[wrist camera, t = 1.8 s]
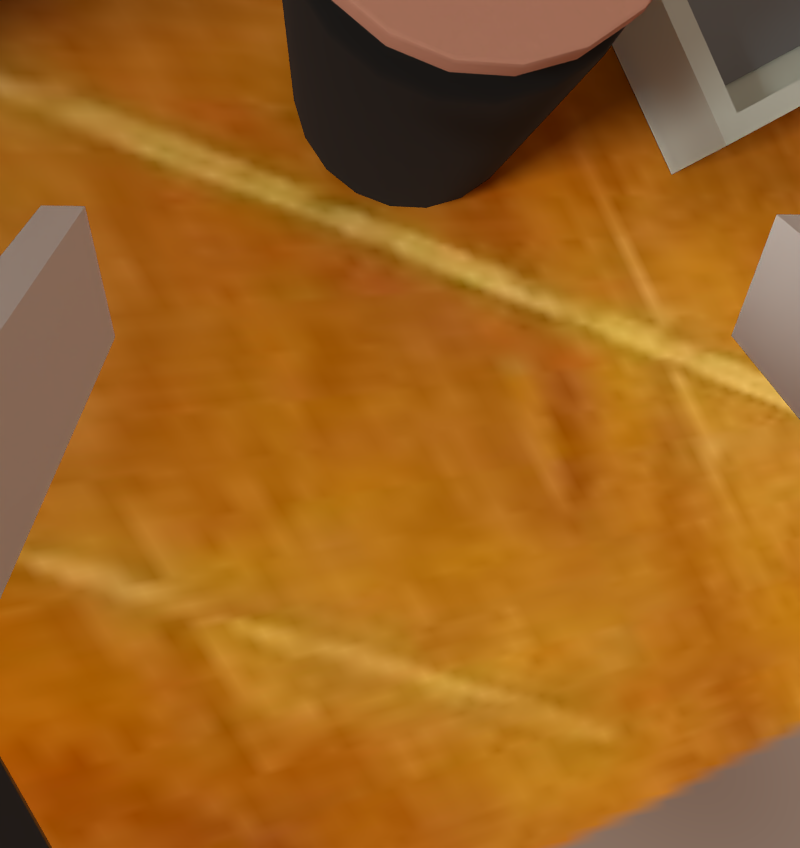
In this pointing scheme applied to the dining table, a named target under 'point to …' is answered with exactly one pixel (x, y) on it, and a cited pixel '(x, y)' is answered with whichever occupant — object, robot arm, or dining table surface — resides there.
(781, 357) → the robot arm
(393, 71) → the coffee jar
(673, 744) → the dining table surface
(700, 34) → the tray
